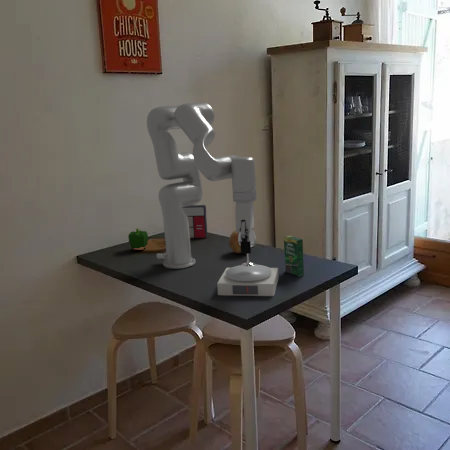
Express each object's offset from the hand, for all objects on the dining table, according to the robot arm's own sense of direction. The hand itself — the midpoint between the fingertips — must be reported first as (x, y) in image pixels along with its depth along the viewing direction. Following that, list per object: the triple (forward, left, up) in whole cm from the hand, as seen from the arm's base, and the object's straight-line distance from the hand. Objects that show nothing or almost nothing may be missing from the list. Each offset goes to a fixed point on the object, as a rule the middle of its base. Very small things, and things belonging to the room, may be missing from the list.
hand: (247, 249), depth 168 cm
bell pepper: (-55, +44, -13) cm, 72 cm away
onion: (-9, +39, -13) cm, 42 cm away
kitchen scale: (0, 0, -13) cm, 13 cm away
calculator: (-35, +64, -13) cm, 74 cm away
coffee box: (+14, +14, -13) cm, 24 cm away
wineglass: (0, 0, -5) cm, 5 cm away
